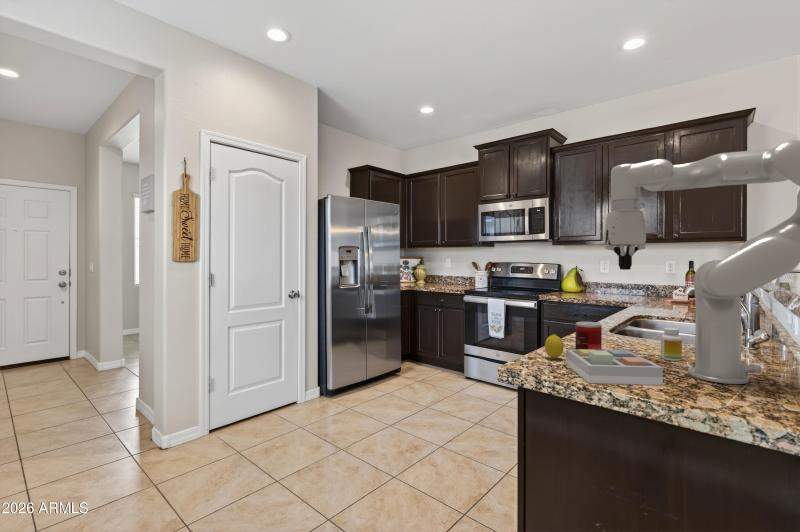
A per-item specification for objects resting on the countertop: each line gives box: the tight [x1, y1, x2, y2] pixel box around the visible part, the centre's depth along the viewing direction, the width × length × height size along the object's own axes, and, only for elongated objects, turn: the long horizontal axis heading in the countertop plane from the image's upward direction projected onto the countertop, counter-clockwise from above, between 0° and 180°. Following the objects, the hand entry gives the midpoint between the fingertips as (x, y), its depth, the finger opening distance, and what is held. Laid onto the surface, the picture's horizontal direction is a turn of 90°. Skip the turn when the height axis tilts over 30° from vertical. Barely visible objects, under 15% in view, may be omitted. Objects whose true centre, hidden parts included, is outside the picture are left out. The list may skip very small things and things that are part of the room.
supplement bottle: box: [660, 327, 683, 362], centre depth 122 cm, size 5×5×10 cm
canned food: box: [575, 321, 603, 350], centre depth 126 cm, size 8×8×11 cm
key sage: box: [589, 351, 613, 365], centre depth 103 cm, size 5×5×3 cm
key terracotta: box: [621, 357, 647, 366], centre depth 103 cm, size 5×5×3 cm
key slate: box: [607, 349, 632, 357], centre depth 111 cm, size 5×5×3 cm
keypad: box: [566, 349, 664, 386], centre depth 107 cm, size 18×18×4 cm
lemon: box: [544, 333, 564, 360], centre depth 123 cm, size 6×6×8 cm
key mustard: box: [578, 349, 596, 357], centre depth 112 cm, size 5×5×3 cm
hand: (625, 269), depth 113 cm, fingers closed
